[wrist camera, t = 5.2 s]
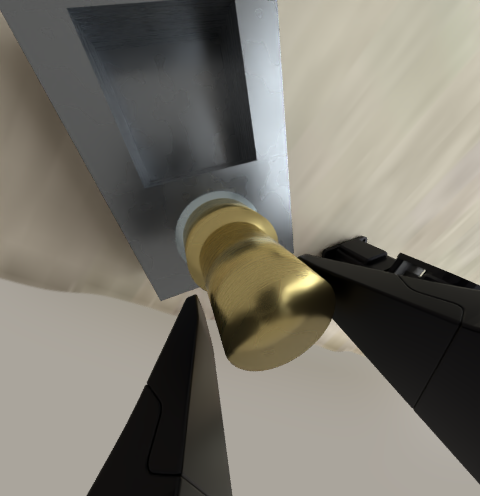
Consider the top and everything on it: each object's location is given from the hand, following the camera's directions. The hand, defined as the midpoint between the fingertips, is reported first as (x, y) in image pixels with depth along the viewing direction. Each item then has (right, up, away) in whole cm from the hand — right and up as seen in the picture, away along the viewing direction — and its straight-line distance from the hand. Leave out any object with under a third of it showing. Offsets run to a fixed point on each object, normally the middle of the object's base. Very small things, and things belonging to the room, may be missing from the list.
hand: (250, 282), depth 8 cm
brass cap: (-2, +2, +5) cm, 5 cm away
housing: (-4, +8, +7) cm, 12 cm away
